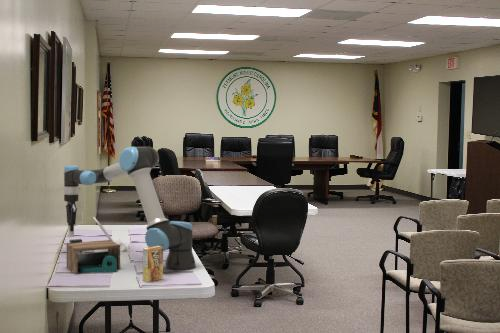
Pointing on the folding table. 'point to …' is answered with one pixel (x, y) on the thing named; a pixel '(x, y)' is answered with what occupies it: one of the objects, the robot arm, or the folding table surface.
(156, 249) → the candy box
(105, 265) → the bracket
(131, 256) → the folding table surface
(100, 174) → the robot arm
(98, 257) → the dark grey block
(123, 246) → the tablet stand
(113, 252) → the tunnel
